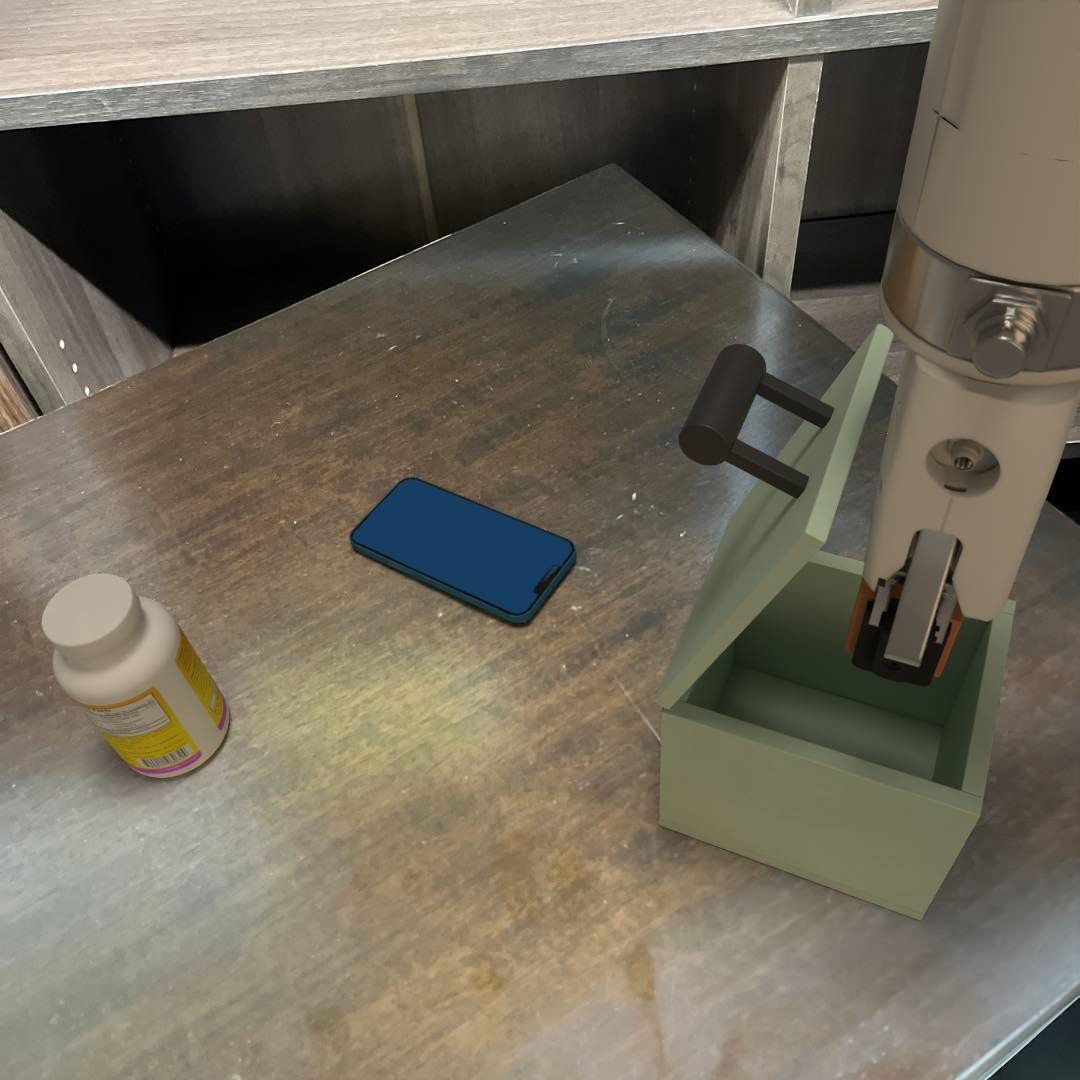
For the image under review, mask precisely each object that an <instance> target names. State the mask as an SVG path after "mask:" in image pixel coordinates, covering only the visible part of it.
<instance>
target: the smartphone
mask: <svg viewBox="0 0 1080 1080" xmlns="http://www.w3.org/2000/svg"><path fill="white" fill-rule="evenodd" d="M348 539H349V542H350V545H351V547H352V548H353V550H354V551H357V552H359V553H361V554H362V555H365V556H367V557H369V558H372V559H374V560H376V561H378V562H380V563H382V564H385V565H387V566H389V567H392V568H393V569H395V570H398V571H400V572H402V573H404V574H407V575H409V576H411V577H413V578H415V579H417V580H419V581H422V582H424V583H426V584H428V585H429V586H433V587H435V588H436V589H439V590H441V591H443V592H445V593H447V594H450V595H452V596H454V597H456V598H459V599H461V600H462V601H465V602H466V603H470V604H471V605H474V606H476V607H478V608H480V609H483V610H484V611H487V612H489V613H491V614H492V615H496V616H498V617H500V618H502V619H504V620H506V621H508V622H511V623H514V624H515V623H516V624H520V623H524V622H527V621H528V620H530V619H531V618H533V616H534V615H535V614H536V612H537V611H538V610H539V608H540V607H541V605H543V603H544V602H545V600H546V599H547V597H549V595H550V594H551V592H552V591H553V590H554V589H555V587H556V586H557V585H558V583H559V582H560V581H561V580H562V578H563V577H564V576H565V574H566V573H567V572H568V570H570V568H571V566H572V565H573V564H574V562H575V561H576V560H577V556H578V555H577V546H576V544H575V542H573V540H571V539H569V538H567V537H565V536H562V535H561V534H557V533H555V532H553V531H549V530H547V529H545V528H543V527H540V526H537V525H535V524H532V523H530V522H527V521H525V520H522V519H521V518H518V517H515V516H513V515H510V514H509V513H505V512H503V511H500V510H498V509H496V508H493V507H490V506H488V505H486V504H483V503H481V502H478V501H475V500H473V499H471V498H468V497H467V496H463V495H461V494H459V493H456V492H453V491H451V490H449V489H446V488H443V487H441V486H439V485H436V484H434V483H431V482H429V481H426V480H424V479H421V478H419V477H416V476H407V477H403V478H402V479H400V480H399V481H398V482H396V484H394V486H393V487H392V488H391V489H390V490H389V491H388V492H387V493H385V495H384V496H383V497H382V498H381V499H380V500H379V502H377V504H376V505H374V507H372V508H371V510H370V511H368V513H367V514H366V515H365V516H364V517H363V518H362V519H361V520H360V521H359V522H358V523H357V524H356V525H355V526H354V527H353V528H352V530H351V531H350V533H349V537H348Z"/></svg>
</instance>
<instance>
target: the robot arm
mask: <svg viewBox="0 0 1080 1080" xmlns="http://www.w3.org/2000/svg"><path fill="white" fill-rule="evenodd" d="M935 13H936V14H935V18H934V24H933V28H932V33H931V38H930V41H929V46H928V47H929V48H928V52H927V58H926V62H925V67H924V72H923V75H922V76H923V77H922V82H921V88H920V93H919V97H918V103H917V108H916V113H915V118H914V124H913V127H912V133H911V136H910V141H909V147H908V151H907V156H906V159H905V164H904V169H903V175H902V180H901V186H900V191H899V195H898V197H897V201H896V202H897V203H896V208H895V213H894V217H893V222H892V226H891V231H890V235H889V236H890V237H889V242H888V247H887V251H886V256H885V257H886V258H885V261H884V266H883V271H882V277H881V281H880V285H879V290H878V307H879V310H880V313H881V316H882V319H883V321H884V322H885V324H886V327H888V328H889V329H890V330H891V331H892V332H893V334H894V337H896V338H897V339H898V341H899V342H900V343H902V344H903V345H904V346H905V350H904V356H903V359H902V363H901V368H900V373H899V377H898V381H897V386H896V390H895V395H894V398H893V404H892V408H891V412H890V416H889V417H890V418H889V422H888V427H887V431H886V436H885V441H884V446H883V450H882V456H881V461H880V465H879V470H878V471H879V472H878V478H877V482H876V488H875V494H874V499H873V505H872V506H873V507H872V511H871V517H870V523H869V530H868V537H867V543H866V549H865V555H864V560H863V562H864V568H863V577H864V580H865V581H866V583H867V584H868V586H869V587H870V588H871V589H872V590H873V591H874V592H875V589H876V586H877V587H879V588H878V592H877V595H876V599H875V601H870V600H868V603H867V606H866V610H865V614H864V617H863V621H862V625H861V628H860V632H859V636H858V639H857V643H856V647H855V650H854V654H853V658H852V664H853V665H854V666H855V667H857V668H859V669H863V670H866V671H870V672H873V673H875V674H876V675H877V676H879V677H881V678H884V679H887V680H891V681H894V682H907V683H911V684H914V685H918V686H928V685H930V683H931V681H932V678H933V676H934V673H935V670H936V668H937V665H938V663H939V660H940V658H941V655H942V653H943V650H944V647H945V645H946V642H947V640H948V637H949V635H950V632H951V627H952V622H950V619H951V616H952V614H953V611H954V608H955V605H956V602H957V599H958V602H959V605H960V608H961V611H962V614H963V615H964V617H969V618H974V619H978V620H982V621H986V622H988V621H990V620H992V619H994V618H996V617H997V616H999V615H1000V614H1001V613H1002V612H1003V610H1004V608H1005V605H1006V602H1007V600H1008V599H1009V597H1010V594H1011V591H1012V589H1013V586H1014V583H1015V580H1016V578H1017V575H1018V573H1019V570H1020V567H1021V564H1022V562H1023V559H1024V556H1025V554H1026V551H1027V549H1028V546H1029V544H1030V541H1031V538H1032V536H1033V533H1034V532H1035V528H1036V526H1037V523H1038V521H1039V518H1040V515H1041V513H1042V510H1043V508H1044V505H1045V502H1046V500H1047V497H1048V494H1049V491H1050V489H1051V486H1052V483H1053V481H1054V478H1055V475H1056V473H1057V470H1058V467H1059V465H1060V463H1061V459H1062V456H1063V453H1064V450H1065V448H1066V445H1067V442H1068V438H1069V436H1070V433H1071V430H1072V427H1073V423H1074V420H1075V418H1076V414H1077V411H1078V408H1079V404H1080V0H938V5H937V9H936V12H935ZM895 583H899V584H903V585H904V586H903V589H902V593H901V596H900V599H897V598H893V597H891V595H892V591H893V588H894V584H895ZM890 598H891V600H890ZM889 602H890V604H889Z"/></svg>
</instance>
